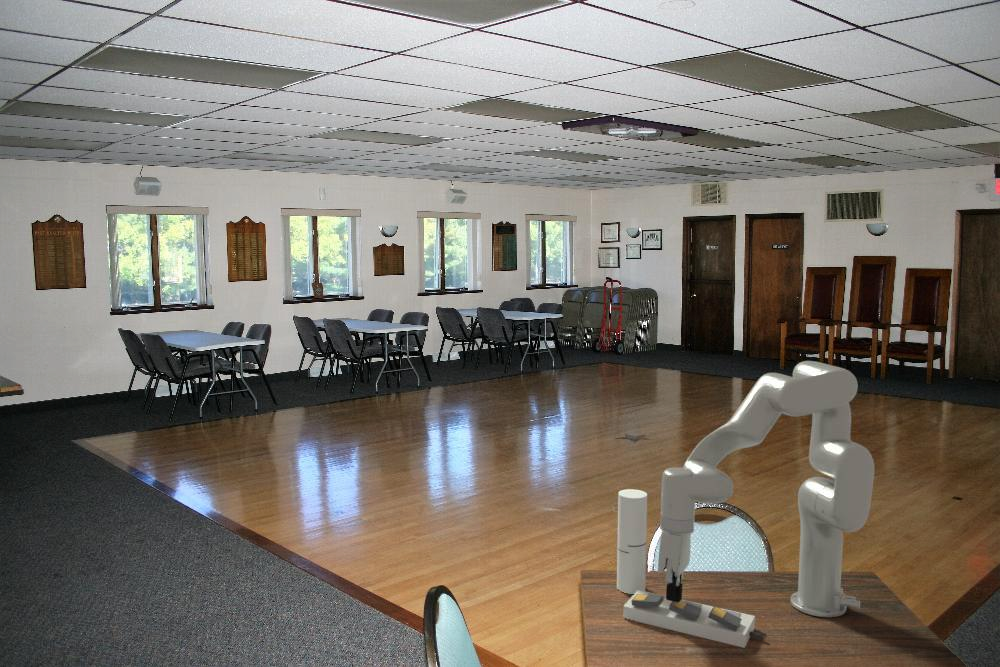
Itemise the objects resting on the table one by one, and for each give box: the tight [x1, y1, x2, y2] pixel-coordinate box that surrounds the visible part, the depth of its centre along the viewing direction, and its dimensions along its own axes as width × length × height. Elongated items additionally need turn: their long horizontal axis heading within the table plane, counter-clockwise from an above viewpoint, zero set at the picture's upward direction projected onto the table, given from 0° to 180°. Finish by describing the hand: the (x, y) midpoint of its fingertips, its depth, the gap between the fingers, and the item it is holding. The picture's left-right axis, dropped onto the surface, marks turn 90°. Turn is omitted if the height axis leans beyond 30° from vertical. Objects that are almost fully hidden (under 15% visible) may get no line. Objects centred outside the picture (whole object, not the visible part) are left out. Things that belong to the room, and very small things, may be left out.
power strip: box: [622, 590, 765, 649], centre depth 185 cm, size 31×10×3 cm, turn 60°
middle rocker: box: [669, 601, 702, 620], centre depth 184 cm, size 6×4×1 cm, turn 61°
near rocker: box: [708, 605, 742, 631], centre depth 179 cm, size 6×4×1 cm, turn 61°
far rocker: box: [631, 594, 664, 607], centre depth 188 cm, size 6×4×1 cm, turn 60°
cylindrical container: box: [616, 488, 648, 595], centre depth 203 cm, size 7×7×25 cm
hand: (673, 599), depth 184 cm, fingers closed
